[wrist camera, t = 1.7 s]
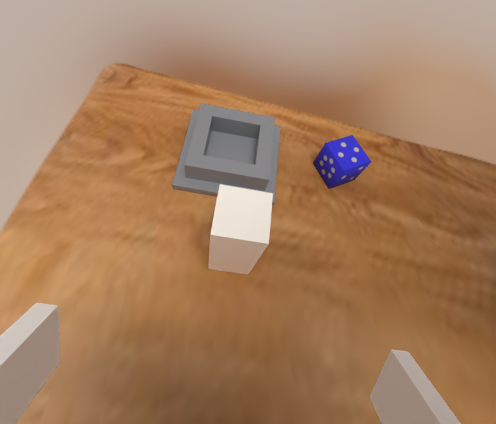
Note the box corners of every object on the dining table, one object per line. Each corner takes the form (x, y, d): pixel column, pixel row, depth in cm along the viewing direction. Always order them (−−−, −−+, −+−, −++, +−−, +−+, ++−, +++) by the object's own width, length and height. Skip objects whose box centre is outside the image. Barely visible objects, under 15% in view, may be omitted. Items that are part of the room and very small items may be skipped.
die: (338, 155, 45) (353, 134, 40) (354, 180, 43) (372, 161, 38) (312, 163, 43) (325, 142, 39) (328, 189, 41) (343, 170, 37)
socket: (278, 130, 45) (285, 112, 41) (272, 205, 39) (279, 191, 35) (193, 114, 44) (192, 93, 40) (173, 188, 38) (169, 172, 34)
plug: (252, 237, 36) (272, 193, 26) (248, 274, 34) (268, 243, 23) (215, 231, 36) (219, 184, 25) (208, 268, 34) (210, 234, 23)
